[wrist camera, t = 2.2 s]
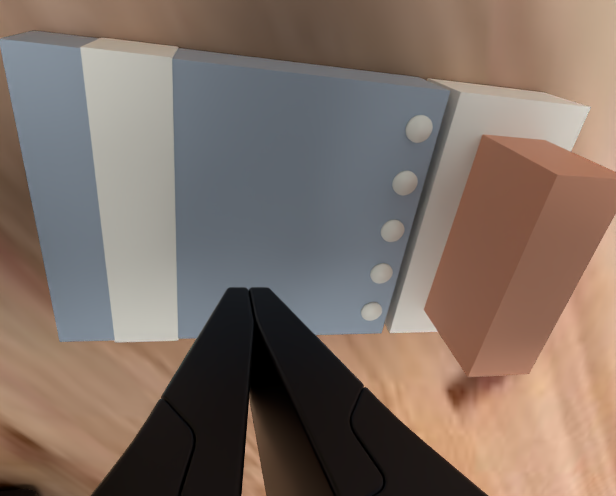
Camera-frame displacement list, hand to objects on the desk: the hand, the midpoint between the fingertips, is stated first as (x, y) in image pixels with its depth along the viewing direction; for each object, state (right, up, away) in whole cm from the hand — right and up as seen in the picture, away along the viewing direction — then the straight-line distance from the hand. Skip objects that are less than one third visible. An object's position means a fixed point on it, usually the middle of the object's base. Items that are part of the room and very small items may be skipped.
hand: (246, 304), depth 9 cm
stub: (+6, +3, +6) cm, 9 cm away
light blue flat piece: (-1, +3, +4) cm, 5 cm away
